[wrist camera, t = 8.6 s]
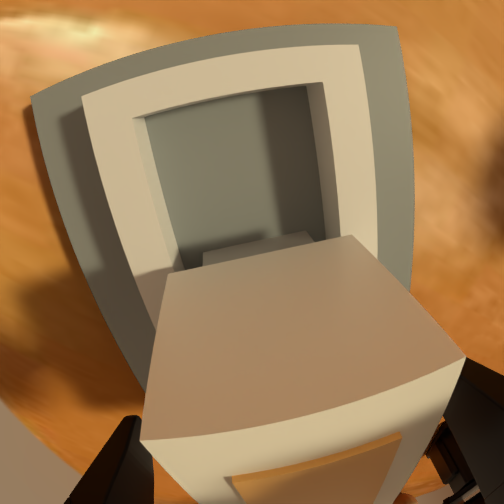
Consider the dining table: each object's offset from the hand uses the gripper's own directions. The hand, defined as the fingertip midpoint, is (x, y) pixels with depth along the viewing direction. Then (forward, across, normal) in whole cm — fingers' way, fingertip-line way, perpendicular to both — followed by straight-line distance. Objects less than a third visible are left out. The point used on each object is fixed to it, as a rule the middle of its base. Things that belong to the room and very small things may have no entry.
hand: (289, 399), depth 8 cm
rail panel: (+5, 0, 0) cm, 5 cm away
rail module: (+4, 0, 0) cm, 4 cm away
